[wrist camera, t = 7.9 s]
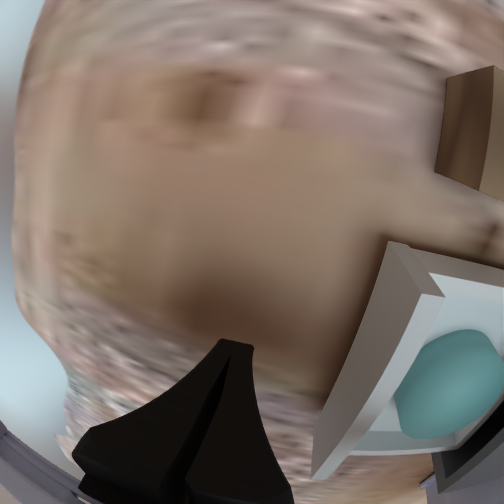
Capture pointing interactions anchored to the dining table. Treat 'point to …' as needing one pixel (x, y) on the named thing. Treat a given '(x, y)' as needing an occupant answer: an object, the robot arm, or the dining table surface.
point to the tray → (404, 353)
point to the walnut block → (474, 131)
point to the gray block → (473, 457)
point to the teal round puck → (449, 384)
